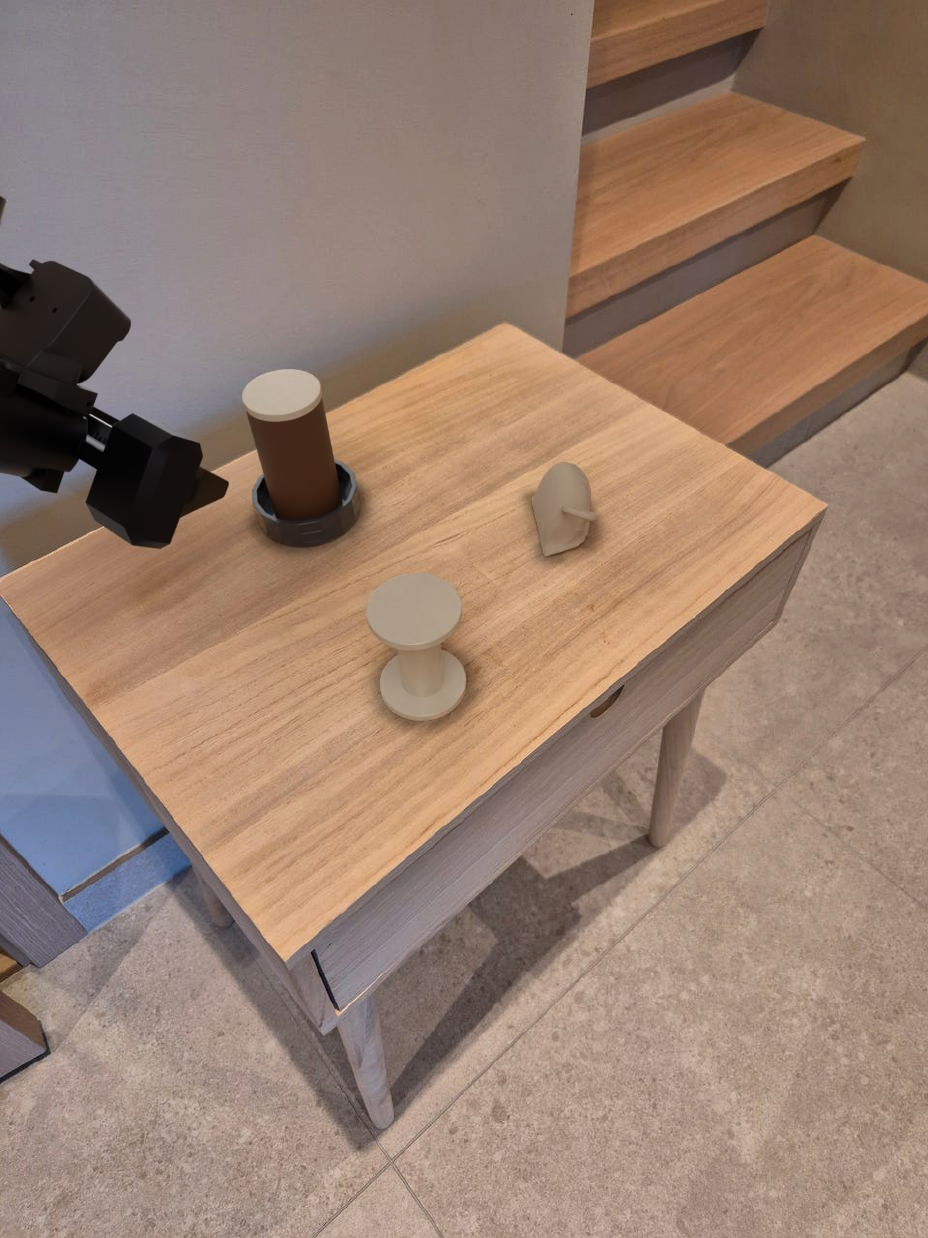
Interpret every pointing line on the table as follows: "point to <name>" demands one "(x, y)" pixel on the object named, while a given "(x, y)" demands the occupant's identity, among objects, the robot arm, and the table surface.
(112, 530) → the robot arm
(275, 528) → the bowl
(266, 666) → the table surface
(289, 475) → the brown lidded canister
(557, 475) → the beige curved piece
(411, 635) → the stand
